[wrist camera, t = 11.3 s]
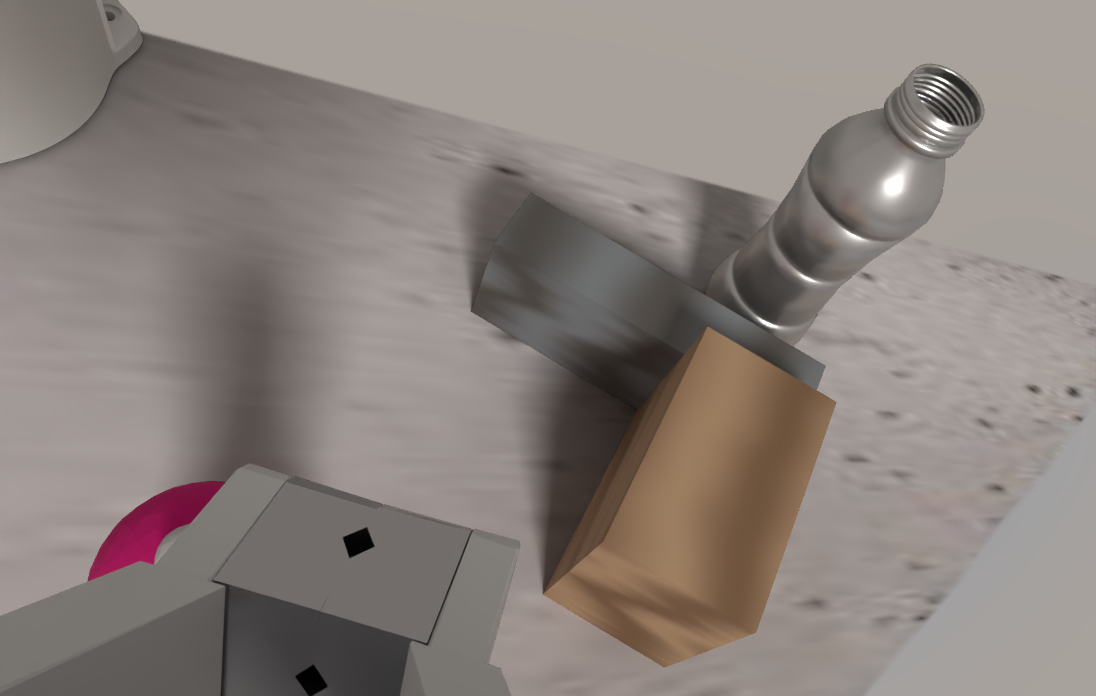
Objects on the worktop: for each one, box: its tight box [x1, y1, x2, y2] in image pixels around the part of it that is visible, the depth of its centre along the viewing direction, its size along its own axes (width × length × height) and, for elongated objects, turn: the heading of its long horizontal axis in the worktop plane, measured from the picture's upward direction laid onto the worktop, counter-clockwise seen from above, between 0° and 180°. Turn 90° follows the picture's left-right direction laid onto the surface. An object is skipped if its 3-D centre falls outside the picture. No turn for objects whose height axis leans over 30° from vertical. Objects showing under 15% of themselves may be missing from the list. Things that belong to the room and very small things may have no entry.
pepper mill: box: [88, 481, 226, 581], centre depth 28 cm, size 7×7×20 cm
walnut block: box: [543, 327, 836, 667], centre depth 41 cm, size 7×12×10 cm, turn 152°
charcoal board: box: [471, 193, 825, 410], centre depth 46 cm, size 18×4×7 cm, turn 62°
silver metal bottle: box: [705, 64, 984, 346], centre depth 44 cm, size 6×7×20 cm
